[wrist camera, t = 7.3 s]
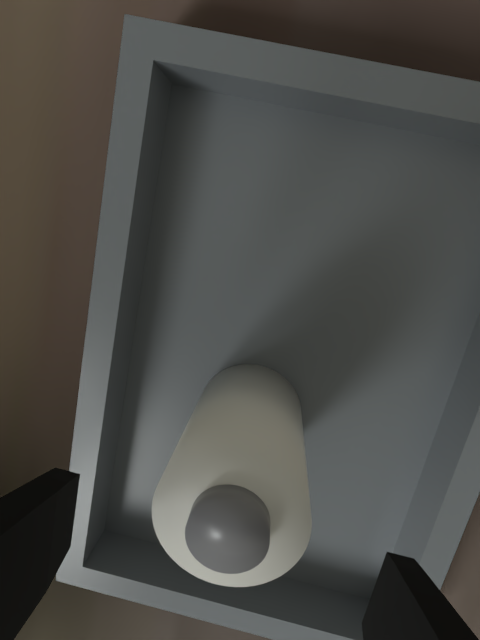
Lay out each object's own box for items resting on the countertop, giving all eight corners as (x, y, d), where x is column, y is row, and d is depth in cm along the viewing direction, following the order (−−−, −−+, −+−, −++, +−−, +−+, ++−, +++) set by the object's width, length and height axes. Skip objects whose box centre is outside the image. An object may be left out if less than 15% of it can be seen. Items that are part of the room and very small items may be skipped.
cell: (191, 445, 16) (132, 584, 10) (209, 353, 16) (157, 442, 9) (287, 469, 16) (290, 626, 10) (312, 377, 15) (333, 486, 9)
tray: (85, 534, 19) (55, 580, 16) (152, 51, 14) (124, 14, 11) (389, 614, 18) (405, 675, 15) (569, 133, 13) (633, 111, 11)
